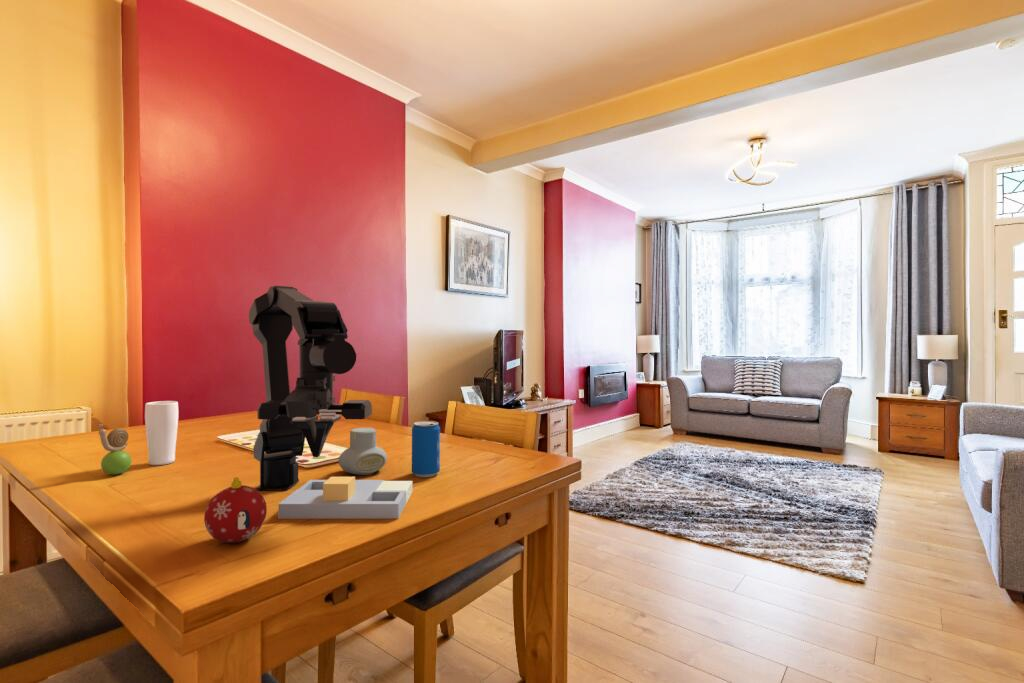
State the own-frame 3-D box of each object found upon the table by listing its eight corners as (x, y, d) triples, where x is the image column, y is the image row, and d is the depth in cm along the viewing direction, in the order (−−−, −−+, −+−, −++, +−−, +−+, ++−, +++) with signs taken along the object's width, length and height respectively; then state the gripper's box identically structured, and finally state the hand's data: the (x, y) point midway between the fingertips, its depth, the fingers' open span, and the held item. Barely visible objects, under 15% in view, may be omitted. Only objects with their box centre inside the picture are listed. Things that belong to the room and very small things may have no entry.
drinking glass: (151, 460, 125) (151, 401, 125) (182, 458, 127) (182, 400, 127) (140, 467, 118) (140, 405, 118) (173, 465, 120) (173, 404, 120)
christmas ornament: (260, 525, 84) (260, 467, 84) (271, 543, 77) (272, 479, 77) (201, 538, 79) (201, 475, 79) (207, 557, 72) (207, 489, 72)
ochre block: (322, 500, 90) (322, 483, 90) (331, 492, 94) (331, 476, 94) (348, 500, 90) (348, 483, 90) (355, 492, 94) (355, 476, 94)
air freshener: (346, 480, 111) (347, 435, 110) (333, 471, 117) (333, 429, 117) (392, 471, 118) (392, 429, 117) (377, 464, 124) (377, 424, 124)
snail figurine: (90, 477, 110) (89, 423, 110) (119, 470, 116) (118, 419, 116) (109, 479, 109) (108, 425, 108) (137, 471, 115) (137, 420, 115)
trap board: (278, 518, 88) (278, 503, 88) (310, 491, 103) (310, 478, 103) (398, 518, 88) (398, 503, 88) (412, 491, 103) (412, 478, 103)
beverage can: (433, 479, 112) (434, 426, 112) (407, 477, 113) (407, 424, 113) (443, 471, 118) (444, 421, 118) (418, 469, 120) (418, 420, 119)
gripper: (241, 374, 82) (241, 469, 82) (356, 374, 82) (355, 468, 82) (271, 369, 93) (271, 453, 93) (372, 370, 93) (372, 452, 94)
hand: (316, 456), depth 90 cm, fingers closed
